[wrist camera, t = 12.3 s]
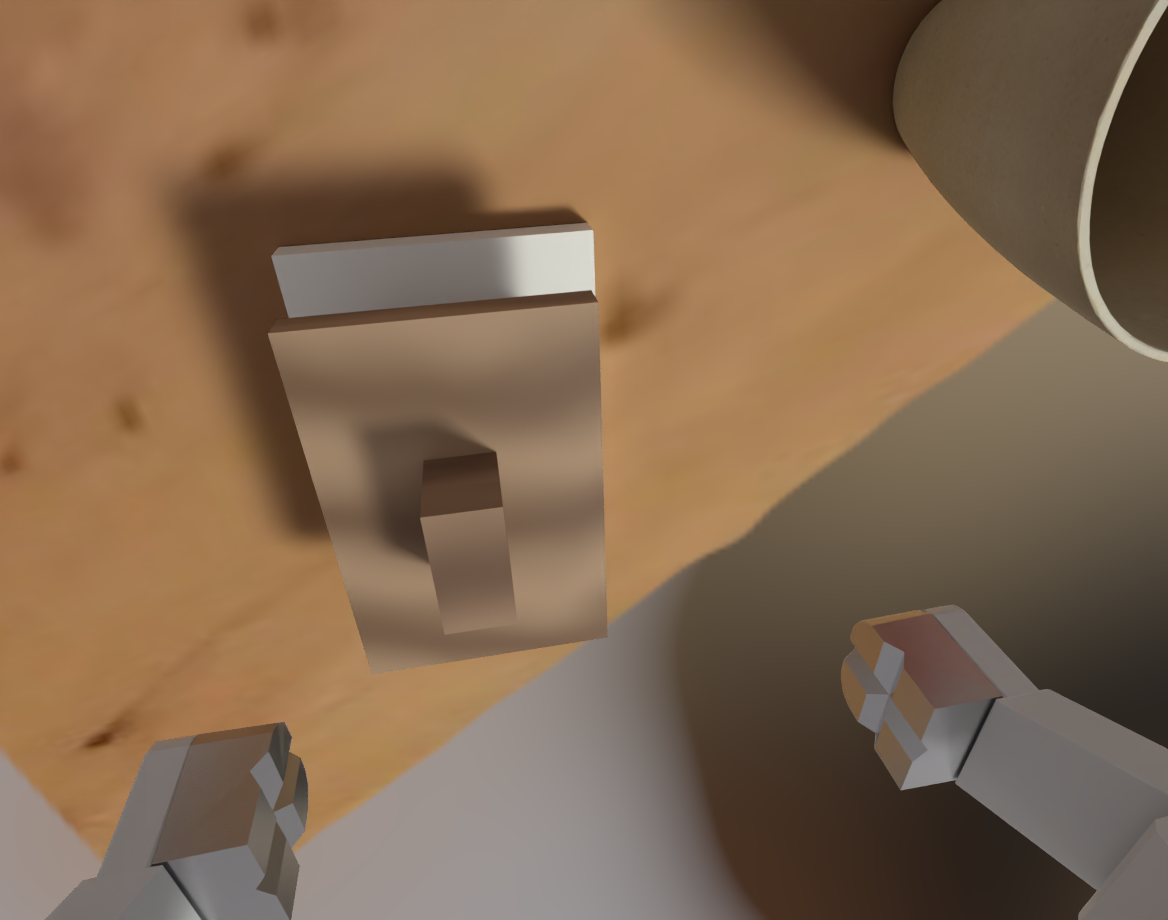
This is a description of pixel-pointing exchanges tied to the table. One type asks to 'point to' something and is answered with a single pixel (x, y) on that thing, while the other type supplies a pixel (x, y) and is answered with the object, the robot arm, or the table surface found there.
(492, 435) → the shelf board
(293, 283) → the peg stand
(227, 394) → the table surface
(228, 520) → the table surface
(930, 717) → the robot arm
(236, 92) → the table surface
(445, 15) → the table surface
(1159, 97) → the plant pot
